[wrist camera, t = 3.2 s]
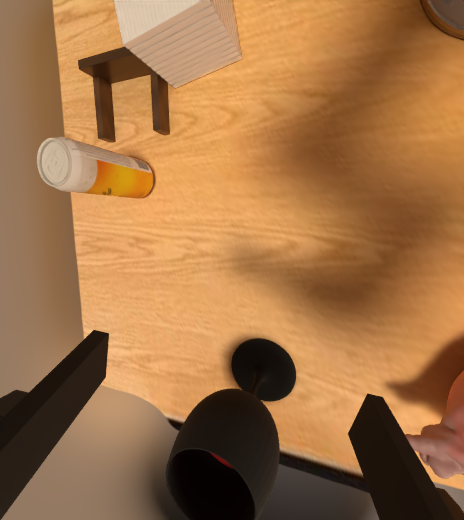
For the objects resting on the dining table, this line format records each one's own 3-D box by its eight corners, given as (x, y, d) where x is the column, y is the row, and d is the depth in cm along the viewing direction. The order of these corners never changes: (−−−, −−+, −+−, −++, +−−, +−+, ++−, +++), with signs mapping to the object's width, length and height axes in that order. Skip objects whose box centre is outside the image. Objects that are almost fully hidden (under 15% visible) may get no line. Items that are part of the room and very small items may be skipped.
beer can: (120, 182, 45) (27, 167, 31) (138, 153, 43) (47, 122, 29) (143, 206, 44) (58, 201, 30) (162, 177, 42) (80, 157, 28)
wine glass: (258, 410, 43) (203, 558, 24) (219, 357, 44) (138, 461, 25) (311, 382, 39) (294, 534, 20) (267, 325, 40) (213, 420, 21)
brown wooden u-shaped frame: (169, 134, 41) (149, 123, 36) (110, 142, 45) (84, 133, 40) (166, 61, 39) (144, 40, 34) (104, 77, 43) (77, 60, 38)
